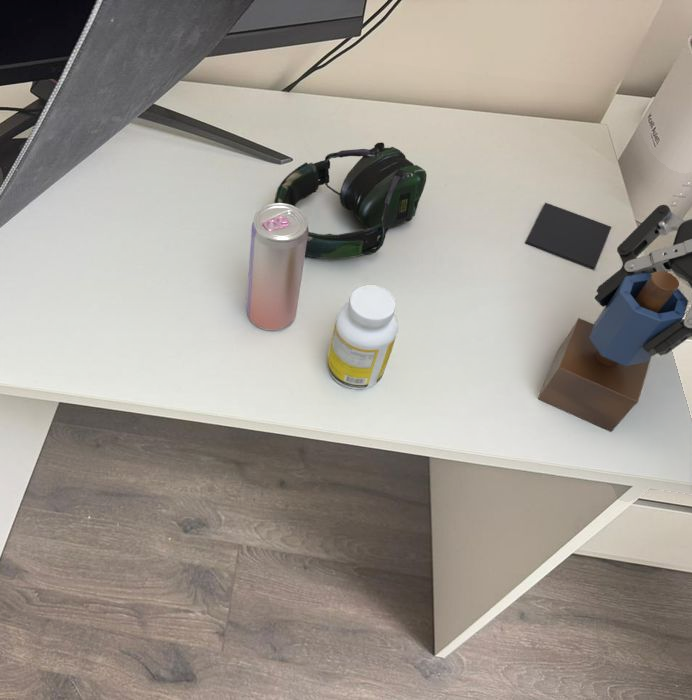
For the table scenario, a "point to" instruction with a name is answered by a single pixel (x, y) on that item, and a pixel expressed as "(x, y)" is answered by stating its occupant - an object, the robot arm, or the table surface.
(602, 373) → the stand
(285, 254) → the beverage can
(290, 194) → the headphones
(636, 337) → the blue hollow octagonal tube
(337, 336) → the pill bottle
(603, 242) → the pad
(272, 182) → the table surface
